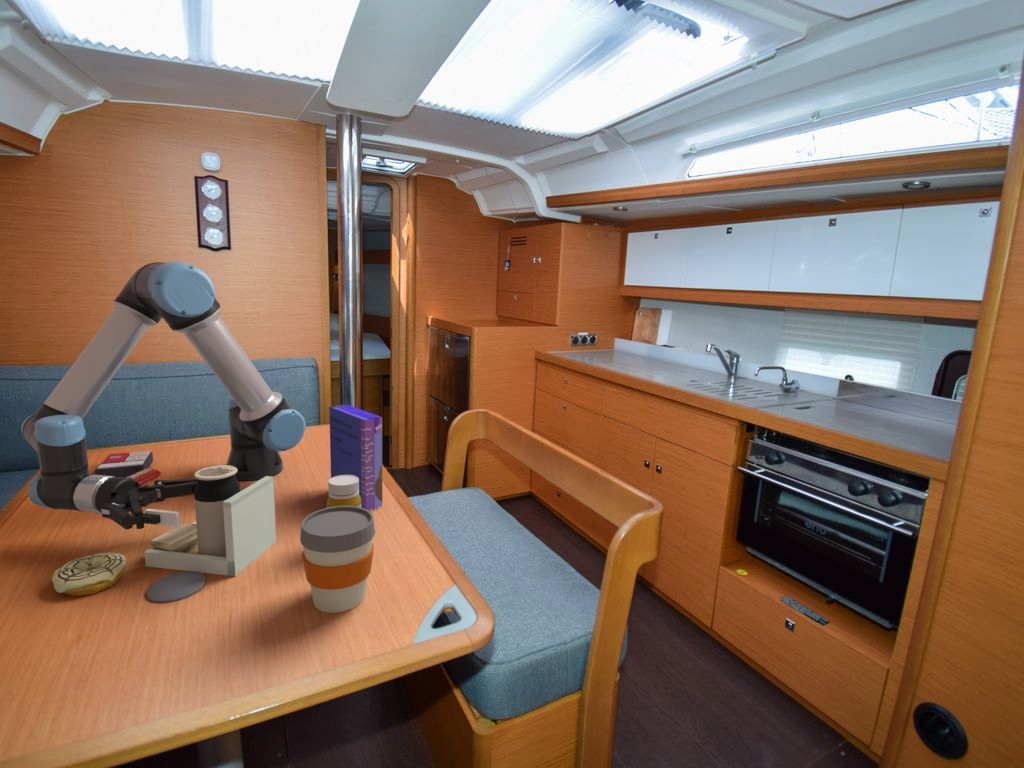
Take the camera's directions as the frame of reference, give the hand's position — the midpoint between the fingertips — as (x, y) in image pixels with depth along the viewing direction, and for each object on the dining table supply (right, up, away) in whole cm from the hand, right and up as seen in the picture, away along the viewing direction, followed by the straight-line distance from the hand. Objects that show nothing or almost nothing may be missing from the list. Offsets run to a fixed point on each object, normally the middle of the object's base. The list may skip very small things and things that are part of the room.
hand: (204, 504), depth 102 cm
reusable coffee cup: (+31, -15, -10) cm, 35 cm away
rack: (0, -11, +3) cm, 11 cm away
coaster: (+1, -13, -9) cm, 16 cm away
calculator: (-50, -1, +45) cm, 67 cm away
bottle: (+26, -11, +8) cm, 29 cm away
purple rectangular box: (+21, -6, +32) cm, 39 cm away
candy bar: (-40, -3, +35) cm, 53 cm away
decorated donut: (-16, -12, -9) cm, 22 cm away
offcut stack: (-7, -10, +3) cm, 13 cm away
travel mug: (+2, -11, +2) cm, 11 cm away
